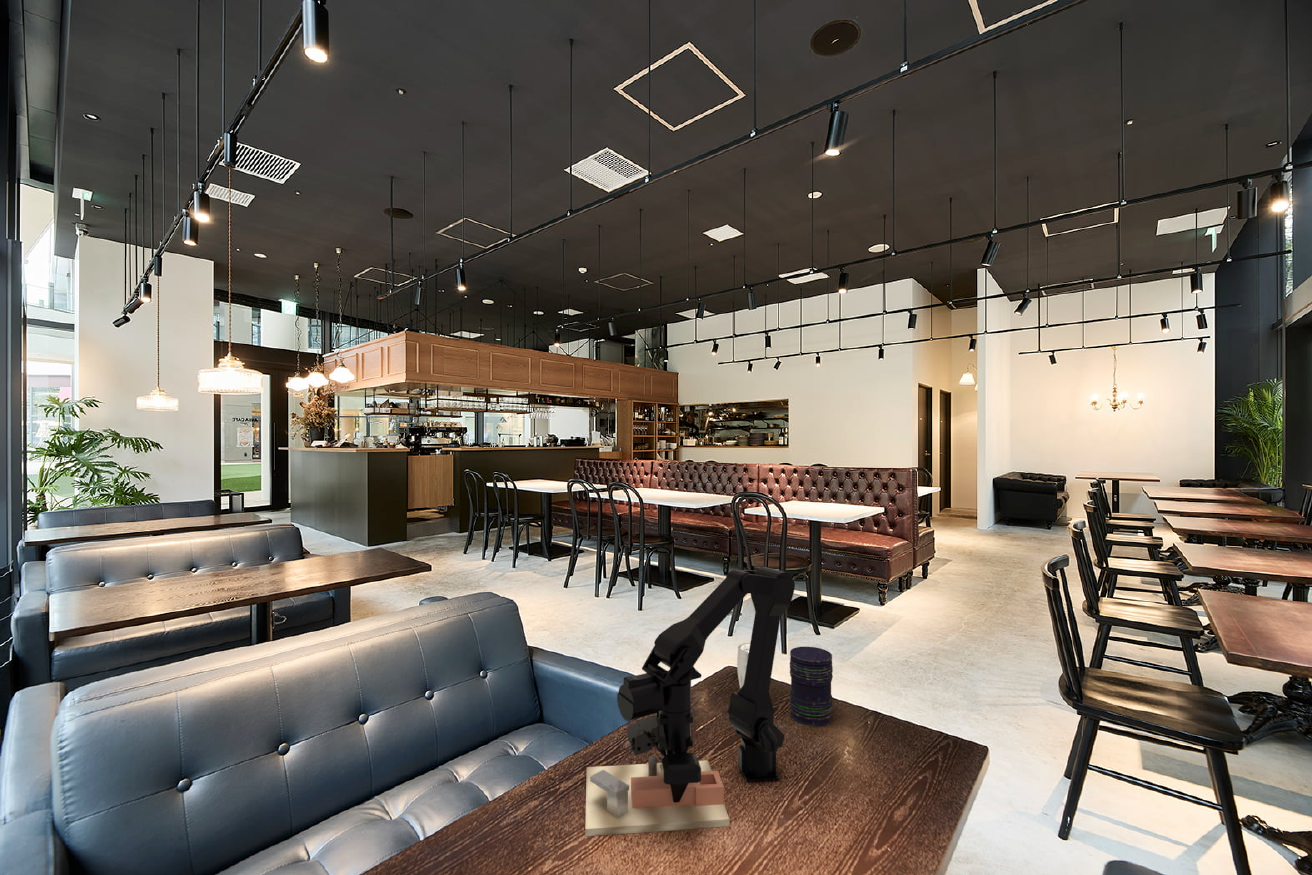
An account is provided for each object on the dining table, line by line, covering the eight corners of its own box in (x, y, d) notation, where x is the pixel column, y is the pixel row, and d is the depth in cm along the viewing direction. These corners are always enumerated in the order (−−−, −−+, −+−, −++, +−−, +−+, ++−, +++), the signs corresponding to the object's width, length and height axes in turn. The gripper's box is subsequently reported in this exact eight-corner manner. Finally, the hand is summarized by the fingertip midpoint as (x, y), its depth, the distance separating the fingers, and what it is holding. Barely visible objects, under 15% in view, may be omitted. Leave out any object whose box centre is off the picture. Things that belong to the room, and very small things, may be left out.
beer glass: (766, 717, 133) (766, 653, 134) (736, 715, 135) (736, 651, 135) (766, 704, 140) (766, 643, 140) (737, 702, 142) (738, 641, 142)
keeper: (603, 794, 102) (603, 769, 102) (629, 811, 97) (629, 785, 97) (590, 801, 100) (590, 776, 100) (616, 819, 95) (616, 792, 95)
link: (717, 786, 104) (717, 770, 104) (723, 803, 99) (723, 786, 99) (630, 792, 102) (630, 775, 102) (632, 809, 97) (632, 792, 97)
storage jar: (782, 709, 138) (782, 647, 138) (818, 705, 140) (818, 644, 140) (802, 729, 128) (802, 663, 128) (841, 724, 130) (841, 659, 131)
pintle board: (707, 766, 113) (707, 743, 113) (729, 826, 95) (729, 799, 95) (586, 773, 110) (586, 750, 110) (585, 836, 92) (585, 808, 92)
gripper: (626, 685, 109) (626, 767, 109) (633, 734, 91) (633, 832, 90) (683, 683, 111) (683, 764, 110) (701, 730, 92) (701, 828, 92)
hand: (674, 794), depth 101 cm, fingers closed on link, 4 cm apart
